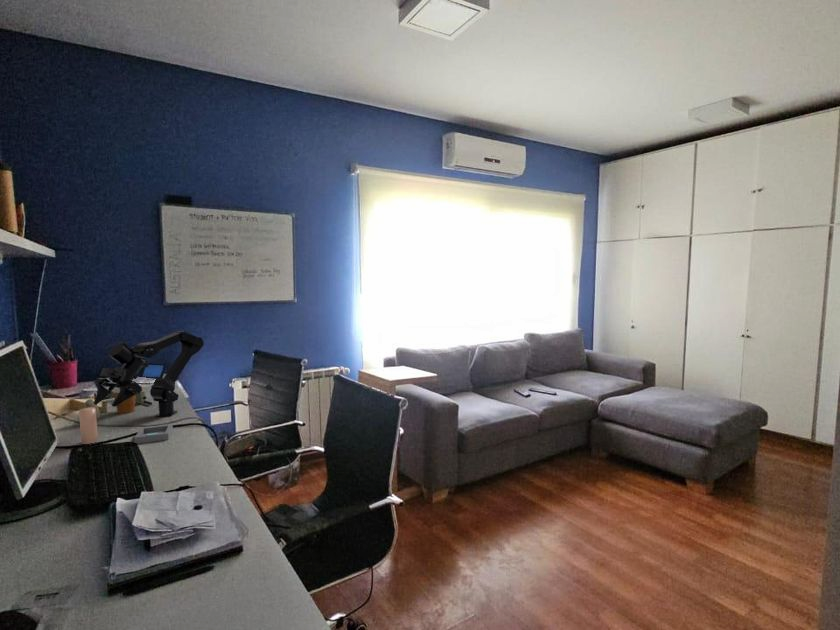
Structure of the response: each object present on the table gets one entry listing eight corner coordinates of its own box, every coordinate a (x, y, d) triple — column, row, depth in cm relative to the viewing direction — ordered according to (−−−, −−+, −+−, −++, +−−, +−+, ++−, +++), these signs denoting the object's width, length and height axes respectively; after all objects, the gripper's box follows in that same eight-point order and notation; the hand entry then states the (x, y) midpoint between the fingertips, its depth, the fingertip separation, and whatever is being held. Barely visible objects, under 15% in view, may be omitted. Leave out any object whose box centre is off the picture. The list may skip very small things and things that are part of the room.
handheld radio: (128, 397, 213) (155, 405, 200) (121, 399, 210) (147, 407, 197) (127, 384, 212) (153, 391, 199) (119, 386, 209) (146, 393, 196)
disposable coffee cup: (141, 411, 190) (139, 385, 189) (116, 416, 183) (114, 389, 182) (135, 407, 197) (134, 381, 196) (110, 411, 190) (109, 385, 189)
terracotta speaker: (87, 440, 157) (84, 407, 156) (101, 439, 158) (98, 406, 157) (78, 445, 152) (75, 411, 151) (92, 444, 153) (90, 411, 152)
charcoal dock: (141, 433, 163) (140, 427, 163) (172, 430, 167) (172, 423, 167) (134, 443, 153) (134, 436, 153) (168, 439, 158) (168, 432, 157)
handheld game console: (126, 383, 240) (125, 367, 239) (144, 378, 253) (143, 363, 252) (151, 384, 238) (150, 368, 237) (168, 379, 251) (167, 363, 250)
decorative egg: (95, 419, 179) (93, 396, 178) (103, 421, 177) (101, 398, 176) (79, 424, 174) (77, 400, 173) (87, 426, 171) (85, 402, 171)
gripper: (97, 357, 166) (68, 392, 156) (133, 360, 161) (106, 396, 151) (117, 373, 174) (92, 407, 165) (152, 376, 169) (128, 411, 159)
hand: (103, 405), depth 160 cm, fingers open, 9 cm apart
